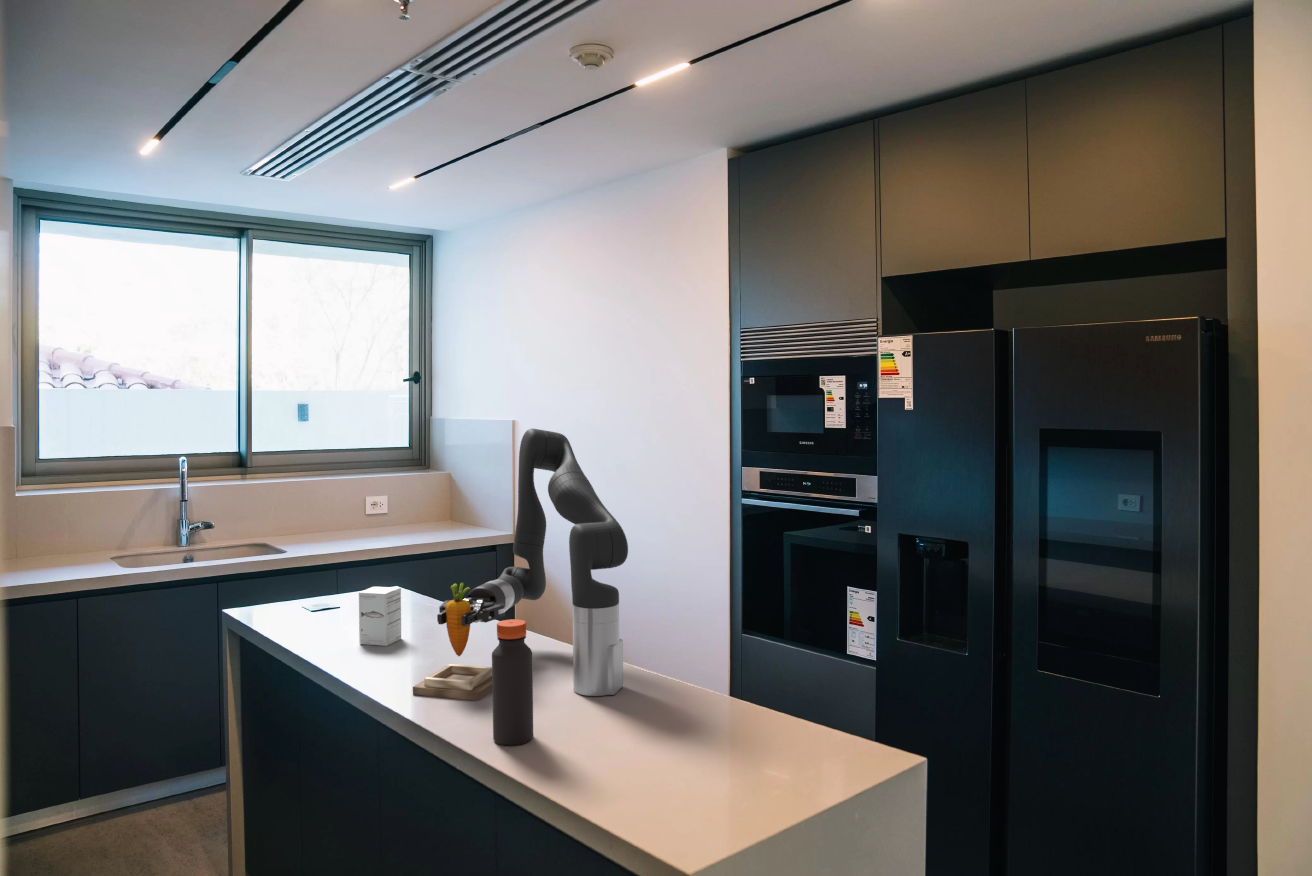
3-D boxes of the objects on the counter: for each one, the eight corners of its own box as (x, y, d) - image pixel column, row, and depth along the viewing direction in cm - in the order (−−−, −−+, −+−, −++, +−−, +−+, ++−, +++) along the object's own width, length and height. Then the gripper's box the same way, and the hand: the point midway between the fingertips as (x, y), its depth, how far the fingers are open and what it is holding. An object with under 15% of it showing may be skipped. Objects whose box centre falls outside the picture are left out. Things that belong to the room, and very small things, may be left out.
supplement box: (358, 645, 212) (357, 592, 211) (375, 636, 219) (374, 585, 219) (386, 646, 210) (385, 593, 210) (402, 638, 217) (401, 586, 217)
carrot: (461, 650, 184) (459, 578, 183) (476, 655, 180) (475, 581, 179) (441, 656, 180) (439, 582, 179) (457, 661, 177) (455, 586, 176)
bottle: (528, 729, 157) (526, 616, 156) (537, 742, 151) (535, 625, 150) (489, 734, 155) (487, 620, 154) (497, 749, 148) (495, 629, 148)
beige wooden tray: (504, 681, 184) (504, 666, 184) (477, 700, 172) (477, 684, 172) (443, 675, 188) (443, 661, 188) (412, 694, 176) (412, 679, 176)
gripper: (460, 580, 195) (418, 599, 179) (521, 584, 191) (484, 603, 175) (461, 614, 196) (419, 636, 179) (521, 619, 192) (484, 641, 175)
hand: (451, 620), depth 177 cm, fingers closed on carrot, 4 cm apart
